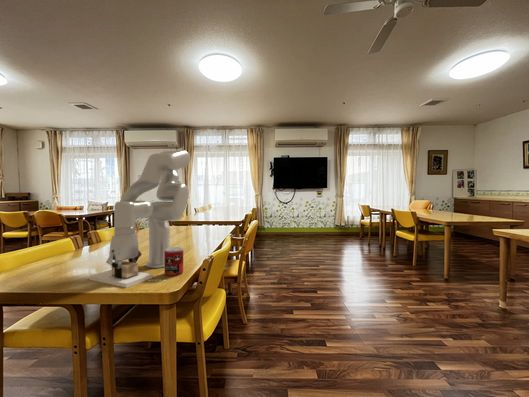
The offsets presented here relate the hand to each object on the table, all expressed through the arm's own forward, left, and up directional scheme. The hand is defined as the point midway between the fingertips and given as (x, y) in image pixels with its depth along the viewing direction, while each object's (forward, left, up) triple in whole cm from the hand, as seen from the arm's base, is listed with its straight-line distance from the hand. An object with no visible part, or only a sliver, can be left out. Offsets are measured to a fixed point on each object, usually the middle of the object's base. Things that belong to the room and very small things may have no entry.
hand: (124, 275), depth 99 cm
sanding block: (0, 0, 0) cm, 0 cm away
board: (0, -2, -2) cm, 3 cm away
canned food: (-14, +13, -2) cm, 19 cm away
